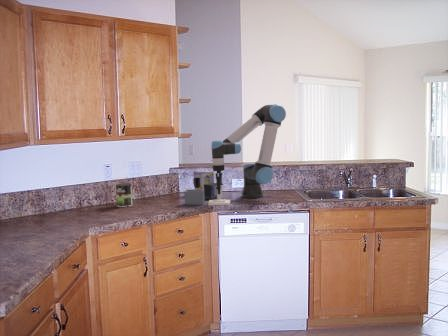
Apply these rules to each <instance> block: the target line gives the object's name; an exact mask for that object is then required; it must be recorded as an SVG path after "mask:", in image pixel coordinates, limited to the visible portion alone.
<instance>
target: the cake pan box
mask: <svg viewBox="0 0 448 336" xmlns="http://www.w3.org/2000/svg"><path fill="white" fill-rule="evenodd" d="M192 171H193V179H192V182H193V187H194V189H204V184H209V183H215V175H214V171H213V170H198V169H197V170H192Z"/></svg>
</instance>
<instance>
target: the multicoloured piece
mask: <svg viewBox="0 0 448 336" xmlns="http://www.w3.org/2000/svg"><path fill="white" fill-rule="evenodd" d="M132 187H133V184H132V183H117V184H115V196H116V198H115V200H116V207H118V208H128V207H127V206H129V207H133V191H132V190H133V189H132Z"/></svg>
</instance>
